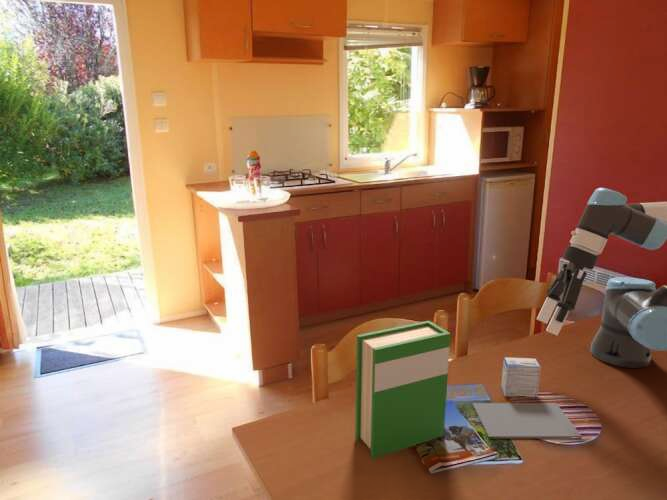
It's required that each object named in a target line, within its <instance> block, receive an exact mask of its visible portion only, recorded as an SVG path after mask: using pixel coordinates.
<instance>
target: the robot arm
mask: <svg viewBox="0 0 667 500" xmlns="http://www.w3.org/2000/svg"><path fill="white" fill-rule="evenodd" d="M627 201H628V197H627V196H626V195H625V194H622V193H621V192H618V191H617V190H616V191H615V190H612V189H609V188H606V187H598V188H596V189H594V191H593V193H592V195H591V196H590V197H589V200H588V201H587V203H586V205H585V208H584V211H583V213H582V215H581V217H580V219H579V222H578V224H577V226H576V228H575V230H571V232H570V233H571V235H572V237H571V239H570V240H569V242H570V244H568V245H567V246H566V248H565V250H564V253H563V255H562V259H563V260H566V261H567V262H568V263H563V264H562V267H561V269H560V271H559V273H558V274H557V276H556V277H555V279H554V280H553V282H552V284H551V285H550V287H549V288H548V290H547V291H546V293H547V297H546V299H545V300H544V302H543V305H542V307H541V309H540V311H539V313H538V315H537V317H536V320H537V321H540V322H541V323H544V324H548V325H547V327H546V330H545V331H546V332H548V333H550V334H553V335H554V336H559V333H560V331H561V329H562V328H563V325H564V324H565V321H566V320H567V317H568V315H569V313H570V312H571V311H573V310H575V308H576V305H577V302H578V299H579V295H580V292H581V289H582V286H583V283H584V281H585V278H586V276H587V273H588V272H586V271H584V269H588V270H590V271H592V270H594V268H595V266H596V264H597V262H598V261H599V256H598V255H601V254H602V252H603V250H604V248H605V246H606V244H607V242H608V239H609V237H610V236H611V235H612V236H616V237H617V238H620V239H622V240H624V241H627V242H630V243H631V244H634V245H637V246H638V247H640V248H644V249H647V250H650V251H655V250H657V249H659V248H661V247H662V246H663V245H664V244H665V242H666V241H667V201H656V202H655V201H654V202H652V201H651V202H639V203H634V202H633V203H627ZM604 290H605V292H604V293H605V294H604V300H603V306H602V315H601V320H600V321H601V322H600V327H599V329H598V330H597V332H596V334H595V336H594V338H593V339H592V340H591V345H590V349H589V350H590V353H591V355H593V357H594V358H596V359H598V360H600V361H601V362H604V363H606V364H609V365H612V366H615V367H616V366H617V367H620V368H621V367H622V368H627V369H628V368H629V369H641V368H644V367H647V366H649V365H650V364H651V358H652V352H651V350H652V351H660V352H661V351H662V352H664V351H665V352H666V351H667V285H661V286H660V287H658V288H657V289H656V283H655V282H654V281H652V280H648V279H645V278H644V279H643V278H637V277H627V276H626V277H625V276H615V277H611V278H609V279H608V280H607V283H606V287H605V288H604ZM554 310H555V311H554ZM553 312H554V313H553ZM552 314H553V315H552ZM548 322H549V323H548Z"/></svg>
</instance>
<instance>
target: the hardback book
mask: <svg viewBox="0 0 667 500" xmlns="http://www.w3.org/2000/svg"><path fill="white" fill-rule="evenodd" d="M450 343H451V332H449V331H448V330H446V329H444V328H442V327H440V326H439V325H437V324H436V323H433V322H432V321H430V320H425V321H424V320H423V321H420V322H416V323H411V324H406V325H401V326H396V327H391V328H386V329H381V330H377V331H376V330H375V331H371V332H366V333H362V334H357V335H356V366H355V367H356V368H355V369H356V371H355V372H356V373H355V374H356V376H355V378H356V379H355V380H356V381H355V383H356V385H355V434H354V435H355V440H356V441H357V442H359V441H362V442H363V443H364V444H365V445H366V446H367V447H368V448H369V450H370V454H369V455H370V458H371V459H373V460H374V459H376V458H380V457H382V456H386V455H388V454H389V455H390V454H394V453H395V452H398V451H401V450H405V449H409V448H411V447H415V446H417V445H416V444H418V445H420V444H419V443H421V444H423V443H422V442H424V443H426V441H427V442H429V441H428V440H430V441H433V440H436V439H438V438H437V437H439V436H442V435H444V436H445V422H446V421H445V420H446V404H447V391H448V376H449V375H448V374H449V360H450V359H449V358H450V345H451V344H450ZM442 437H443V436H442ZM435 438H436V439H435ZM439 438H440V437H439ZM432 439H433V440H432Z"/></svg>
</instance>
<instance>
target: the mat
mask: <svg viewBox="0 0 667 500" xmlns="http://www.w3.org/2000/svg"><path fill="white" fill-rule="evenodd" d="M473 406H474V407H473ZM472 407H473V409H474V408H475V409H474V411H475V414H476V416H477V415H478V416H477V417H479V418H478V419H480V420H479V421H481V422H480V424H481V423H482V424H481V426H482V425H483V426H482V428H483V427H484V428H483V430H484V429H485V430H484V432H485V431H486V432H485V434H486V433H487V434H486V436H487V435H488V436H487V438H488V437H496V438H495V439H498V438H497V437H500V438H499V439H572V438H571V437H583V436H582V435H581V433H580V432H579V431H578V429H577V428H576V427H575V425H574V424H573V423H572V422H571V420H570V419H569V417H568V416H567V414H566V413H564V411H563V410H562V409H561V407H560V406H559V405H558V404H557V402H544V403H543V402H530V403H529V402H526V403H525V402H500V403H499V402H496V403H495V402H494V403H493V402H487V403H486V402H485V403H484V402H483V403H482V402H473V403H472ZM565 437H566V438H565Z"/></svg>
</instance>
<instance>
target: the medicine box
mask: <svg viewBox="0 0 667 500" xmlns="http://www.w3.org/2000/svg"><path fill="white" fill-rule="evenodd" d="M541 368H542V367H541V366H540V364H539V362H538V361H537V358H530V357H529V358H528V357H506V356H505V357H504V358H503V362H502V373H501V383H500V384H501V386H500V387H501V389H502V390H501V391H502V393H503V395H504V397H513V398H515V397H516V398H517V396H526V397H525V398H535V397H537V398H538V394H539V384H540V376H541Z"/></svg>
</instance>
